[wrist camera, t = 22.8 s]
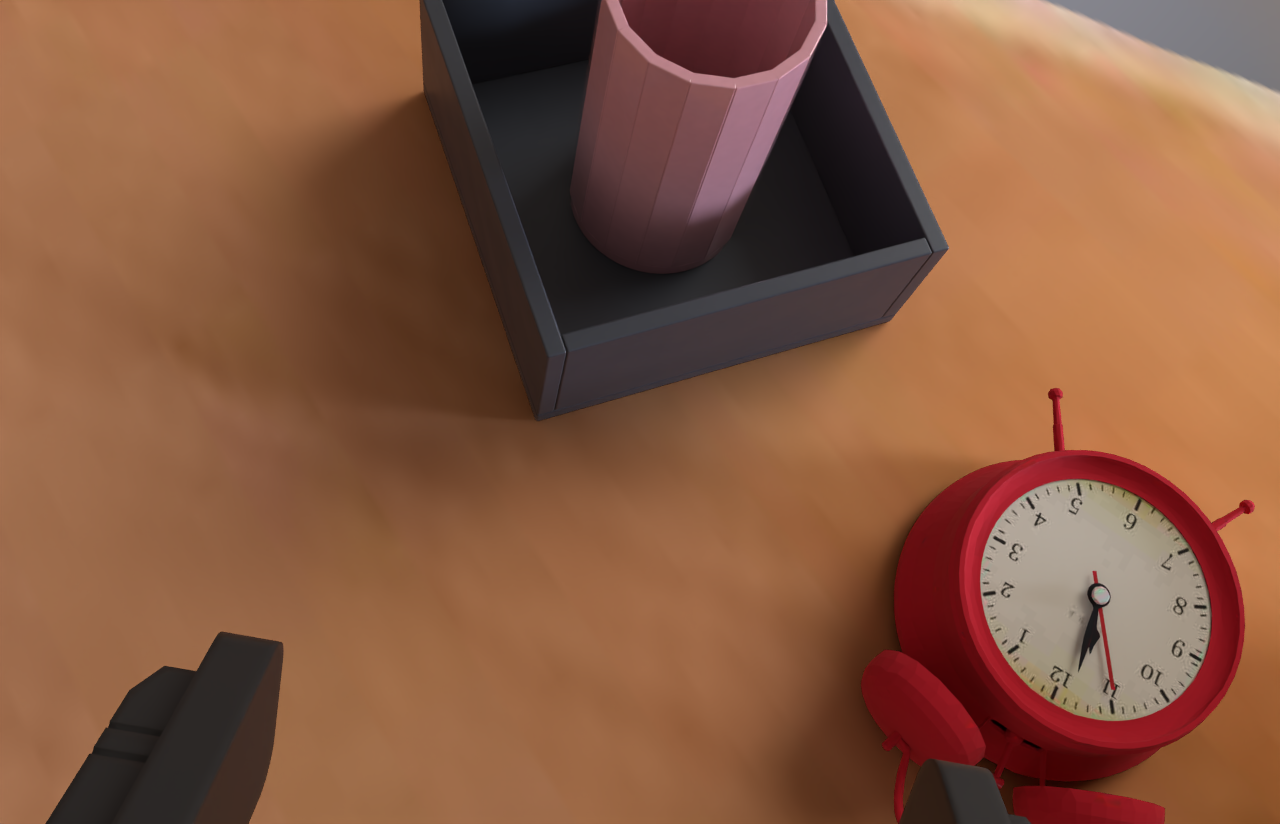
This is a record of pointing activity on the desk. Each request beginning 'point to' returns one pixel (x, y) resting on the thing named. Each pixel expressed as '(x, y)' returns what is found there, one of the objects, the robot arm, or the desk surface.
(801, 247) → the tub
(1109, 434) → the desk surface
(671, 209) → the cup
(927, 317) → the desk surface
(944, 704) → the alarm clock
